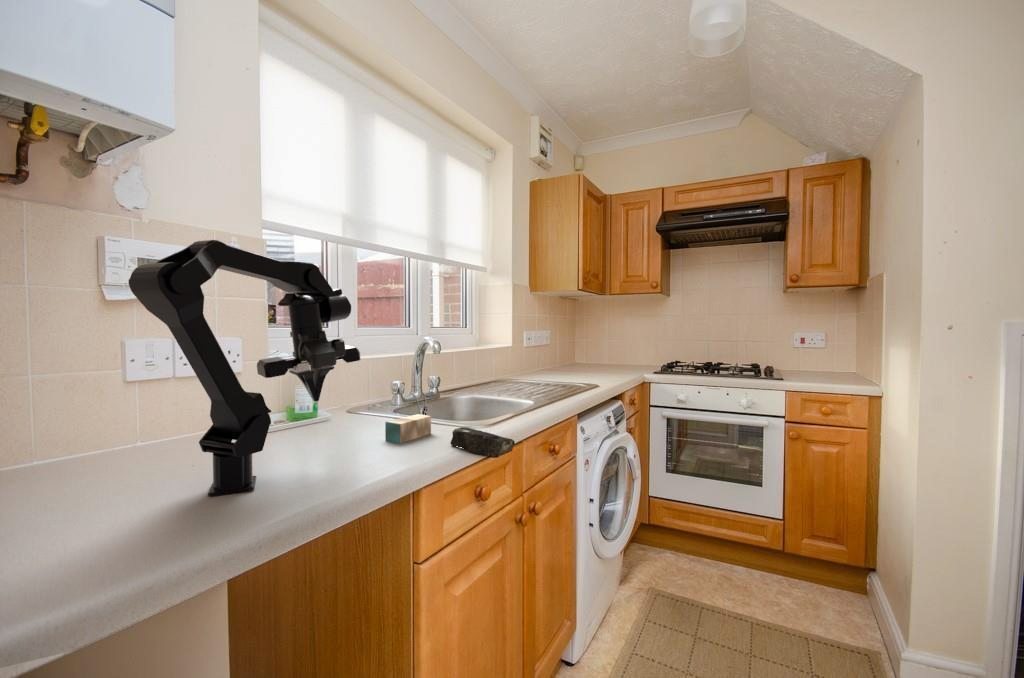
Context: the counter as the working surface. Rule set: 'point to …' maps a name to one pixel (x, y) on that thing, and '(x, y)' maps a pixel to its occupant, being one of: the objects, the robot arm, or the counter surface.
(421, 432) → the block
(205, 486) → the counter surface
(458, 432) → the rock
